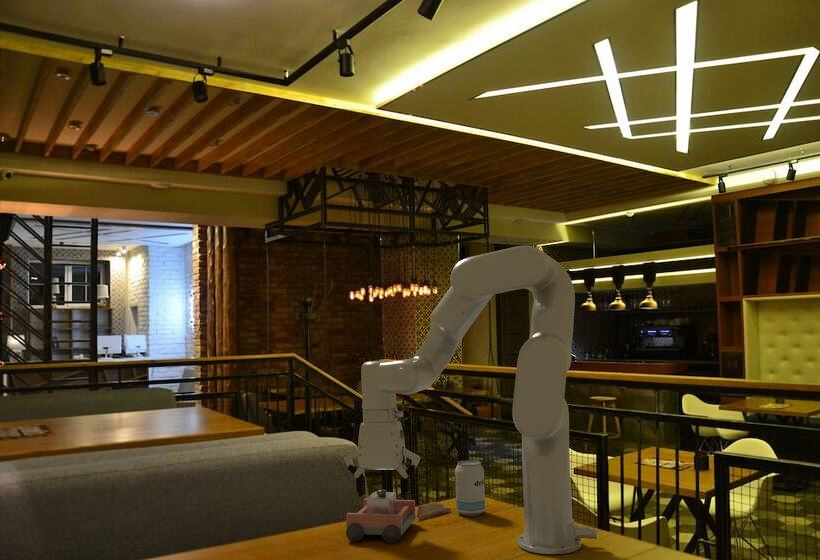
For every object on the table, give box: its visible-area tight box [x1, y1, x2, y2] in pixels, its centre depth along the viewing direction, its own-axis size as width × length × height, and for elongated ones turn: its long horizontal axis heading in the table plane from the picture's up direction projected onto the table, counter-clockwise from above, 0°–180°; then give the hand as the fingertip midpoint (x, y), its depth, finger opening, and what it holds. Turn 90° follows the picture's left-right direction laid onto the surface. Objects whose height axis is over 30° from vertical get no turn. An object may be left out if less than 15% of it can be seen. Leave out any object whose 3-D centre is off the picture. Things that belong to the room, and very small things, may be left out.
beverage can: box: [454, 459, 486, 517], centre depth 159 cm, size 7×7×12 cm
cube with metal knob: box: [365, 489, 397, 514], centre depth 146 cm, size 5×6×6 cm
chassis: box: [345, 498, 417, 545], centre depth 146 cm, size 12×15×6 cm
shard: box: [416, 501, 452, 521], centre depth 160 cm, size 11×8×2 cm
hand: (383, 495), depth 146 cm, fingers open, 9 cm apart
